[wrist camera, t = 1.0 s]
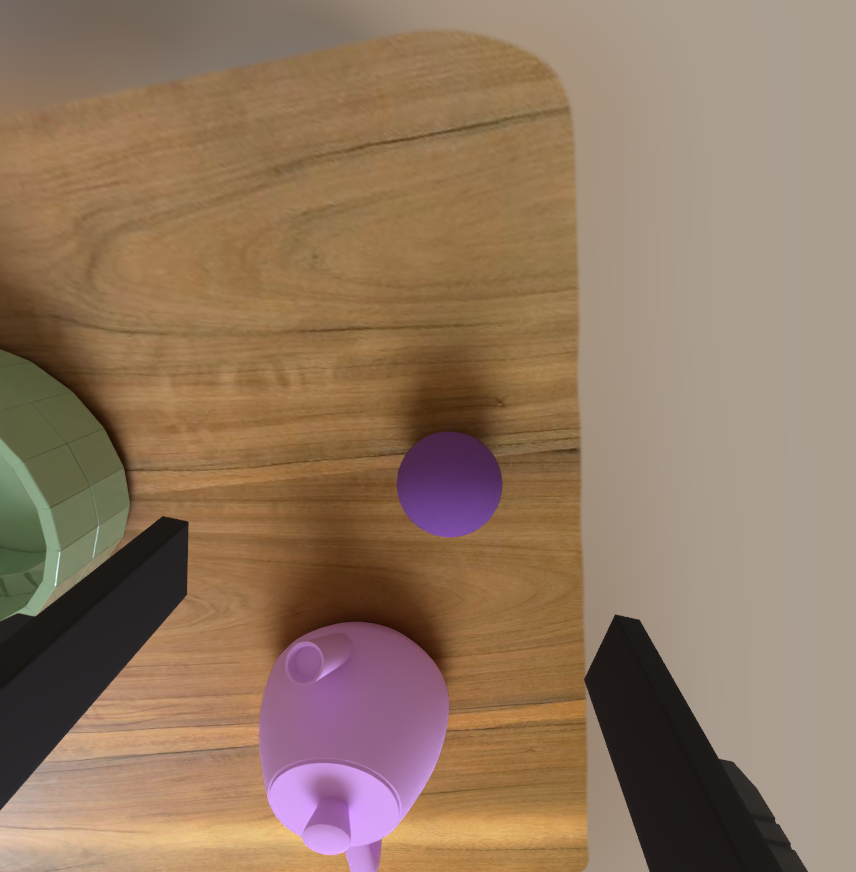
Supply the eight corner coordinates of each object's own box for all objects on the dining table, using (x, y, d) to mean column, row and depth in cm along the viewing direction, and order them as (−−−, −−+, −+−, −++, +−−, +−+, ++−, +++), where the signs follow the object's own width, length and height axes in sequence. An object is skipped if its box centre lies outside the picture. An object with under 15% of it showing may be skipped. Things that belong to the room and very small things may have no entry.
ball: (446, 398, 25) (444, 430, 19) (516, 460, 26) (533, 508, 21) (384, 465, 27) (366, 511, 21) (452, 520, 28) (452, 578, 22)
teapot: (428, 556, 29) (415, 697, 19) (462, 750, 36) (466, 932, 26) (243, 573, 30) (141, 713, 20) (309, 757, 37) (255, 931, 27)
